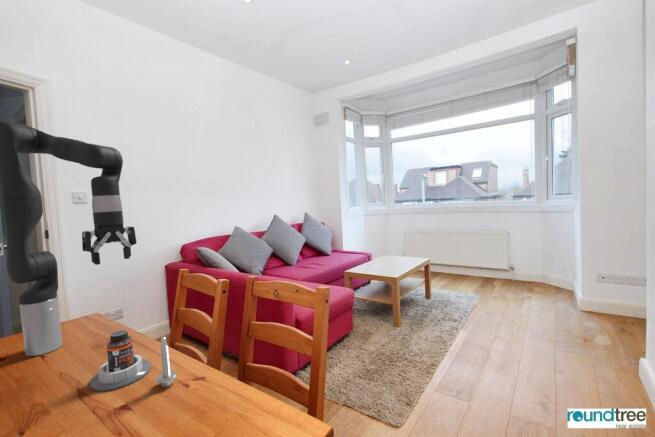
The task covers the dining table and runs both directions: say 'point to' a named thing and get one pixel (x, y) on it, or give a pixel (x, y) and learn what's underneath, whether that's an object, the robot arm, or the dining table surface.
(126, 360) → the supplement bottle
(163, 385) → the screw
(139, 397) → the dining table surface
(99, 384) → the bottle coaster
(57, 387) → the dining table surface
